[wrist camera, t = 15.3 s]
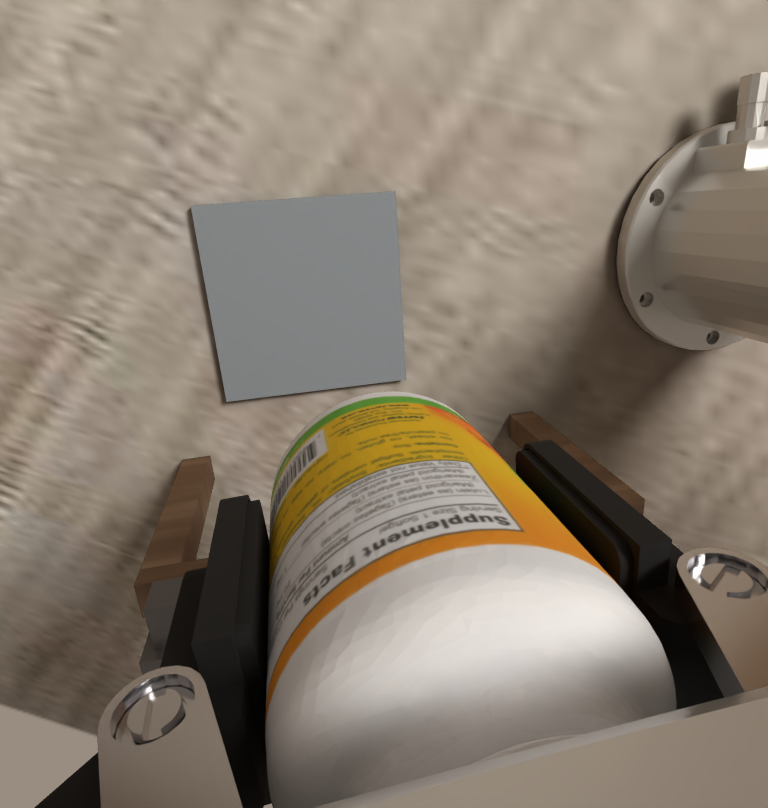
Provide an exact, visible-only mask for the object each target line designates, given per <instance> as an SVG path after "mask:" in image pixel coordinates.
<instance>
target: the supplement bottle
mask: <svg viewBox="0 0 768 808" xmlns="http://www.w3.org/2000/svg"><path fill="white" fill-rule="evenodd" d="M269 549H270V550H269V597H268V646H267V681H266V714H265V742H266V759H267V775H268V784H269V791H270V798H271V802H272V806H273V808H313V807H317V806H321V805H324V804H328V803H332V802H335V801H339V800H343V799H346V798H350V797H354V796H357V795H361V794H365V793H368V792H372V791H376V790H379V789H383V788H387V787H390V786H394V785H398V784H401V783H405V782H409V781H412V780H416V779H419V778H423V777H427V776H430V775H434V774H438V773H441V772H445V771H449V770H452V769H456V768H460V767H464V766H467V765H471V764H475V763H479V762H482V761H486V760H490V759H494V758H497V757H501V756H505V755H509V754H512V753H516V752H520V751H523V750H527V749H531V748H535V747H538V746H542V745H546V744H550V743H553V742H557V741H561V740H565V739H568V738H572V737H576V736H580V735H584V734H587V733H591V732H595V731H599V730H602V729H606V728H610V727H614V726H617V725H621V724H625V723H629V722H633V721H636V720H640V719H644V718H648V717H652V716H656V715H659V714H663V713H667V712H671V711H675V710H676V692H675V685H674V679H673V675H672V672H671V668H670V664H669V662H668V659H667V657H666V654H665V651H664V649H663V646H662V644H661V642H660V640H659V638H658V636H657V635H656V633H655V631H654V630H653V628H652V627H651V625H650V623H649V622H648V620H647V619H646V618H645V616H644V615H643V614H642V613H641V611H640V610H639V609H638V608H637V607H636V605H635V604H634V603H633V602H632V601H631V599H630V598H629V597H628V596H627V595H626V593H625V592H624V591H623V590H622V589H621V588H620V586H619V585H618V584H617V583H616V582H615V581H614V580H613V578H612V577H611V576H610V575H609V574H608V573H607V572H606V571H605V570H604V569H603V568H602V567H601V565H600V564H599V563H598V562H597V561H596V560H595V559H594V558H593V557H592V556H591V555H590V554H589V552H588V551H587V550H586V549H585V548H584V547H583V546H582V545H581V544H580V543H579V542H578V541H577V539H576V538H575V537H574V536H573V535H572V534H571V533H570V532H569V531H568V530H567V528H566V527H565V526H564V525H563V524H562V523H561V522H560V521H559V520H558V519H557V518H556V516H555V515H554V514H553V513H552V512H551V511H550V510H549V509H548V508H547V507H546V506H545V504H544V503H543V502H542V501H541V500H540V499H539V498H538V497H537V496H536V495H535V494H534V492H533V491H532V490H531V489H530V488H529V487H528V486H527V485H526V484H525V483H524V482H523V480H522V479H521V478H520V477H519V476H518V475H517V474H516V473H515V472H514V471H513V469H512V468H511V467H510V466H509V465H508V464H507V463H506V462H505V461H504V460H503V458H502V457H501V456H500V455H499V454H498V453H497V452H496V451H495V450H494V449H493V447H492V446H491V445H490V444H489V443H488V442H487V441H486V440H485V439H484V438H483V437H482V436H481V435H480V434H479V433H478V432H477V431H476V430H475V429H474V428H473V427H472V426H471V425H470V424H469V423H468V422H467V421H466V420H465V419H464V418H463V417H462V416H460V415H459V414H458V413H457V412H455V411H454V410H453V409H451V408H450V407H448V406H446V405H444V404H443V403H441V402H439V401H436V400H434V399H431V398H428V397H425V396H422V395H418V394H413V393H406V392H376V393H370V394H365V395H360V396H357V397H353V398H350V399H347V400H345V401H343V402H340V403H338V404H336V405H334V406H333V407H331V408H329V409H327V410H326V411H324V412H323V413H321V414H320V415H318V416H317V417H316V418H315V419H313V420H312V421H311V422H310V423H309V424H308V425H307V426H306V427H305V428H304V429H303V430H302V431H301V432H300V433H299V434H298V435H297V436H296V437H295V439H294V440H293V441H292V443H291V444H290V446H289V447H288V449H287V450H286V452H285V454H284V456H283V458H282V460H281V462H280V464H279V467H278V470H277V473H276V476H275V480H274V484H273V490H272V498H271V508H270V543H269Z"/></svg>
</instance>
